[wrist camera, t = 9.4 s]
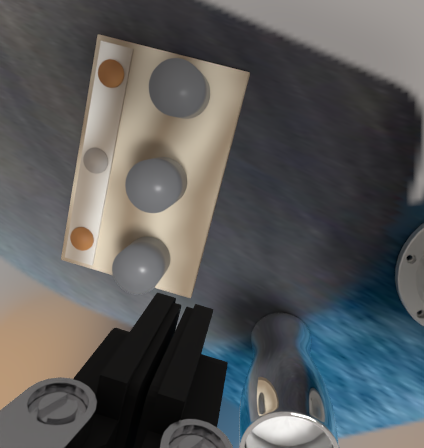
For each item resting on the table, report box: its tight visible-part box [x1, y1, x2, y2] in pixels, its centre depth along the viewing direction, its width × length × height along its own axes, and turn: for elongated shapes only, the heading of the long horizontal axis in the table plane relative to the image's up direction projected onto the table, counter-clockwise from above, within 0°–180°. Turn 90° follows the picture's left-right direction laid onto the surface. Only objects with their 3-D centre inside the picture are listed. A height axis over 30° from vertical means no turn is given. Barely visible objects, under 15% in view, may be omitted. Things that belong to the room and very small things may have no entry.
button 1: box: [149, 58, 210, 119], centre depth 32 cm, size 4×4×4 cm
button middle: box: [125, 157, 187, 213], centre depth 34 cm, size 4×4×4 cm
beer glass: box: [239, 313, 339, 448], centre depth 33 cm, size 7×7×15 cm
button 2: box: [112, 236, 170, 295], centre depth 36 cm, size 4×4×4 cm
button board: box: [61, 34, 250, 298], centre depth 37 cm, size 14×22×2 cm, turn 165°
